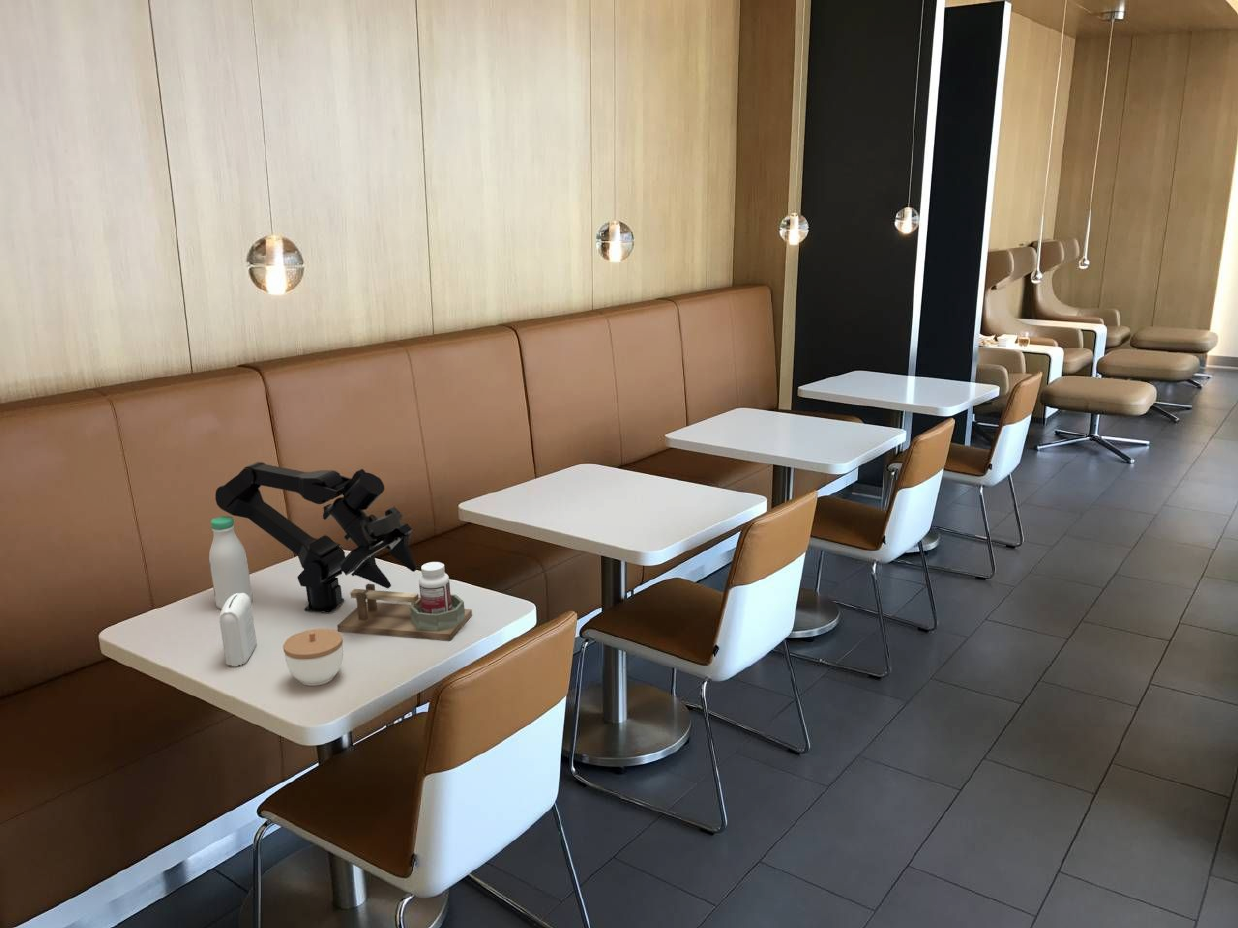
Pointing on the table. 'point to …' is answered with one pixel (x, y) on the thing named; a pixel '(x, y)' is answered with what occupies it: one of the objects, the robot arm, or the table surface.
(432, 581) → the pill bottle
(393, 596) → the catapult arm
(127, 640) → the table surface
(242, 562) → the milk bottle
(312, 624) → the table surface
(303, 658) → the lidded jar
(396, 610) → the catapult base
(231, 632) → the photo printer
